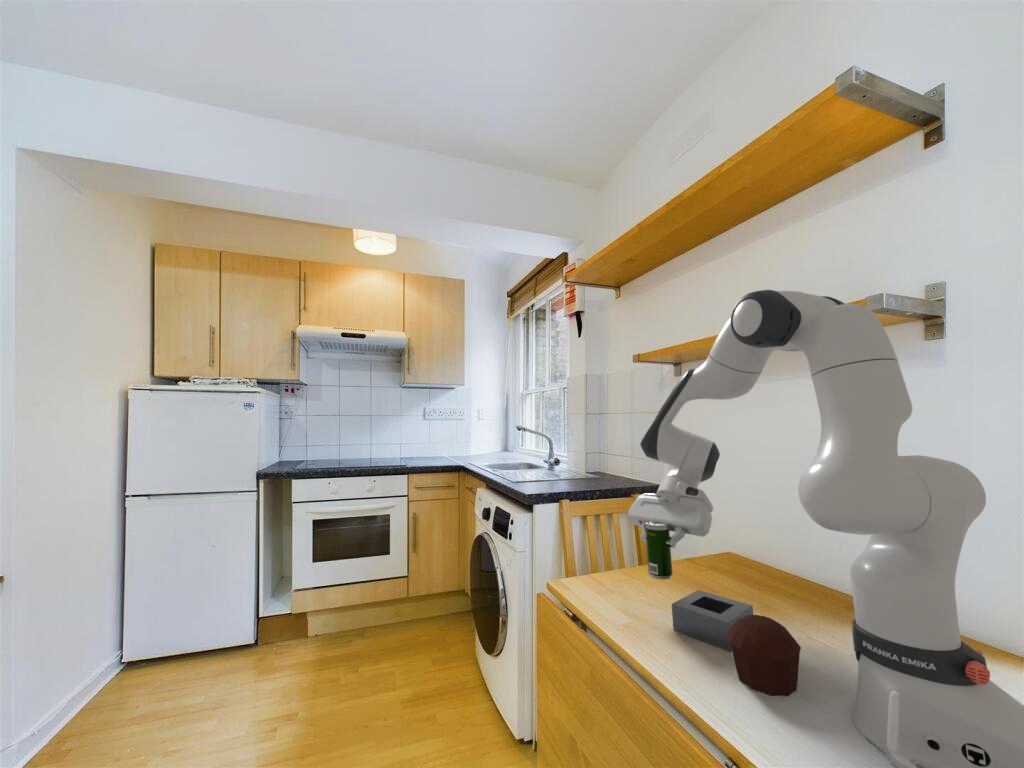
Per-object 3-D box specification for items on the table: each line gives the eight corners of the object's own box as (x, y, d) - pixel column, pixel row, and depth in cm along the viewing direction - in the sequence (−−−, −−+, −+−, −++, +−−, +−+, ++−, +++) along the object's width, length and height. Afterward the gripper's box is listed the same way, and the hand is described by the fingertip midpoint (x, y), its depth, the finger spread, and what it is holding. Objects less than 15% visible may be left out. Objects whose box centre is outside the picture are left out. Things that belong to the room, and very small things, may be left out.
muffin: (737, 655, 80) (732, 601, 81) (807, 676, 73) (801, 616, 74) (722, 686, 70) (717, 624, 72) (801, 712, 64) (794, 643, 65)
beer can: (666, 581, 93) (662, 526, 95) (644, 576, 97) (641, 523, 99) (676, 575, 97) (672, 522, 99) (655, 570, 101) (651, 520, 103)
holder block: (754, 632, 88) (752, 605, 89) (730, 652, 81) (728, 622, 82) (699, 614, 98) (698, 589, 98) (673, 630, 90) (671, 603, 91)
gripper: (634, 485, 112) (614, 528, 105) (709, 491, 96) (692, 542, 89) (645, 500, 114) (626, 543, 107) (720, 508, 99) (704, 560, 91)
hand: (656, 543), depth 98 cm, fingers closed on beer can, 5 cm apart
